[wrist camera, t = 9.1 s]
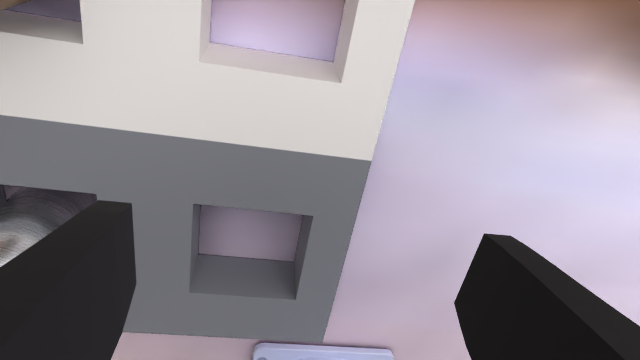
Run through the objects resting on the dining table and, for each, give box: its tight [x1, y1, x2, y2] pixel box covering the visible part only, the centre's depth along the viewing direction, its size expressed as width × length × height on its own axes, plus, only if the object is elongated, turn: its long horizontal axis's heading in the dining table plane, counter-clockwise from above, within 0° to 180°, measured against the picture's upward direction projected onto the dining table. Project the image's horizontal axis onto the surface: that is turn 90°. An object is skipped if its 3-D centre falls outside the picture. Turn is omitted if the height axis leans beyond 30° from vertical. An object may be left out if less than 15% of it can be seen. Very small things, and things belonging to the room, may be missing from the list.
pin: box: [0, 186, 97, 267], centre depth 16 cm, size 3×3×7 cm
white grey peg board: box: [0, 0, 415, 343], centre depth 16 cm, size 20×16×2 cm
